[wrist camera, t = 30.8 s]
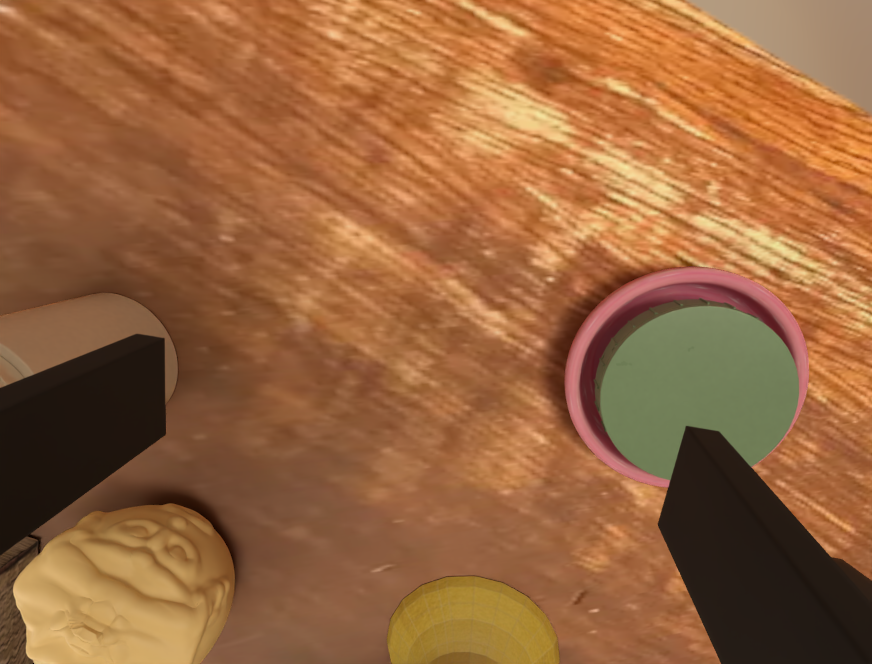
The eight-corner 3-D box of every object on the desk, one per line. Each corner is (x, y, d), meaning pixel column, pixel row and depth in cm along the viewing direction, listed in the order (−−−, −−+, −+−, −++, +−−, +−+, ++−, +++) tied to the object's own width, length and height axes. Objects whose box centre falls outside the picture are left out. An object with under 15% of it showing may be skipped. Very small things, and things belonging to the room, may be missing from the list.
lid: (618, 282, 27) (625, 288, 26) (808, 317, 27) (829, 325, 25) (575, 447, 30) (580, 462, 28) (749, 483, 29) (764, 501, 27)
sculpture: (281, 526, 38) (195, 652, 27) (223, 643, 41) (126, 795, 30) (137, 449, 37) (-4, 546, 27) (91, 573, 41) (-51, 701, 30)
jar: (49, 283, 35) (-160, 323, 24) (177, 302, 34) (21, 352, 23) (59, 409, 38) (-128, 498, 26) (179, 429, 37) (38, 530, 26)
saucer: (797, 261, 29) (831, 268, 26) (767, 467, 32) (794, 496, 29) (564, 261, 31) (570, 268, 28) (556, 458, 34) (561, 484, 31)
